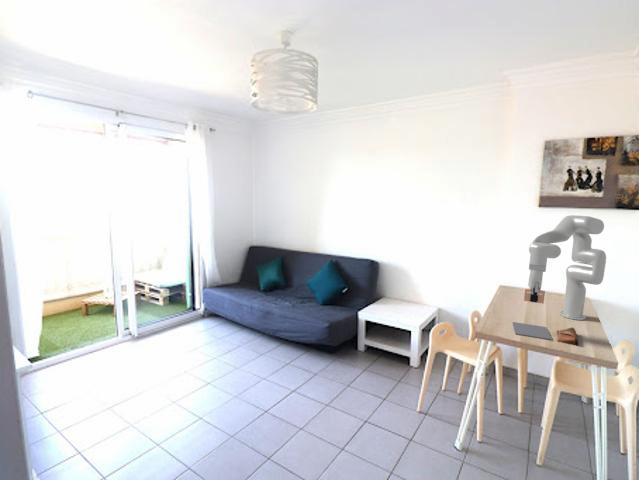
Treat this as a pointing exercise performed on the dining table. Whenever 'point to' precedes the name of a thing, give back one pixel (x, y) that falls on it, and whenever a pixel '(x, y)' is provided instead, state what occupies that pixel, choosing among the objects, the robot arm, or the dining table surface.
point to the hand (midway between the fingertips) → (533, 301)
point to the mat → (531, 331)
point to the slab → (529, 291)
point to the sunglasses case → (568, 336)
